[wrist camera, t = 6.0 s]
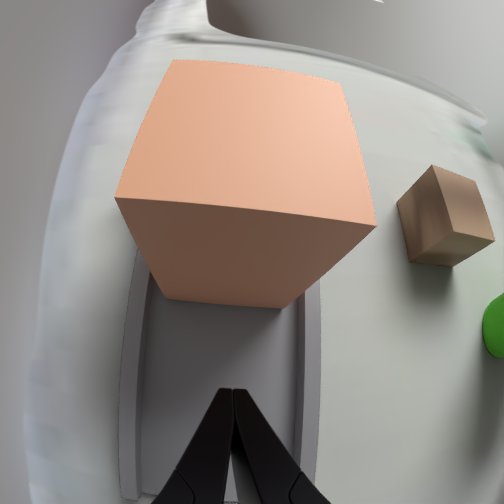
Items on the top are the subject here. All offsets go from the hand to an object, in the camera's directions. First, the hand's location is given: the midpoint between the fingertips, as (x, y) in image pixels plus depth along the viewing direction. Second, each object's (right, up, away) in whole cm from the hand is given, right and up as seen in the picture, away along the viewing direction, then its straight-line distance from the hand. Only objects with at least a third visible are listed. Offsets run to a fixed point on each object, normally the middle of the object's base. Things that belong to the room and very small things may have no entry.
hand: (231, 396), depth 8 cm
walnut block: (+14, +6, +12) cm, 19 cm away
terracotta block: (-1, +4, +7) cm, 9 cm away
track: (-1, +1, +7) cm, 7 cm away
